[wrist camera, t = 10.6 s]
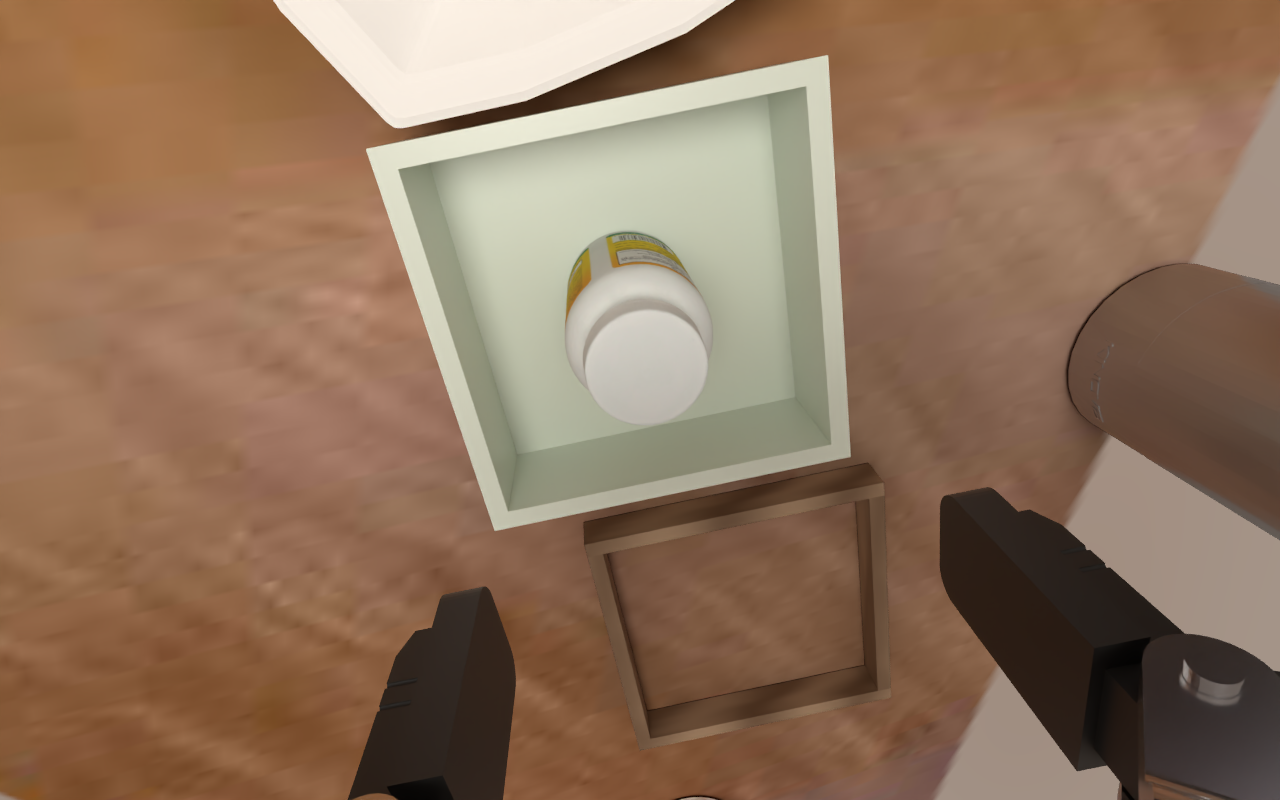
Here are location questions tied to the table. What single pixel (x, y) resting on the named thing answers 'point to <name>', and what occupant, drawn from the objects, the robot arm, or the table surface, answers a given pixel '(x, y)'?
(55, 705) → the table surface
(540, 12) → the bowl
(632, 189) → the plastic bin
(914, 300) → the table surface
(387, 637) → the table surface
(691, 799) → the cup
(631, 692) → the walnut frame
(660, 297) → the supplement bottle
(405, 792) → the robot arm
